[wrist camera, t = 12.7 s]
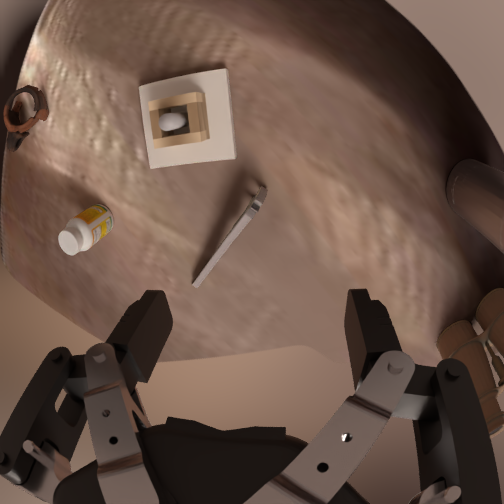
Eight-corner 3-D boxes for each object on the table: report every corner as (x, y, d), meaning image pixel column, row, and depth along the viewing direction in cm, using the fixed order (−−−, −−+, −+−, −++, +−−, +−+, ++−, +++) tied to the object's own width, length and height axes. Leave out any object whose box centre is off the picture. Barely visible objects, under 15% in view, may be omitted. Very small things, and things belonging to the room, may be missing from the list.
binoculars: (443, 358, 50) (475, 450, 29) (428, 339, 48) (466, 443, 26) (510, 303, 42) (562, 384, 20) (503, 277, 39) (567, 365, 18)
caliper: (261, 184, 38) (256, 197, 33) (268, 188, 38) (264, 203, 33) (192, 283, 47) (180, 306, 42) (198, 286, 48) (187, 310, 42)
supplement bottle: (119, 225, 43) (87, 253, 35) (99, 236, 45) (68, 264, 36) (104, 197, 41) (68, 220, 33) (84, 210, 43) (50, 234, 34)
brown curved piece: (22, 87, 33) (7, 80, 26) (62, 93, 37) (51, 85, 30) (5, 148, 35) (-12, 150, 29) (43, 154, 40) (30, 157, 33)
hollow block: (205, 93, 31) (195, 91, 28) (210, 138, 34) (201, 141, 31) (161, 101, 32) (148, 101, 29) (166, 144, 35) (154, 148, 31)
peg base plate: (228, 69, 31) (214, 60, 24) (237, 156, 36) (225, 168, 30) (143, 86, 33) (115, 85, 26) (154, 166, 38) (129, 179, 32)
